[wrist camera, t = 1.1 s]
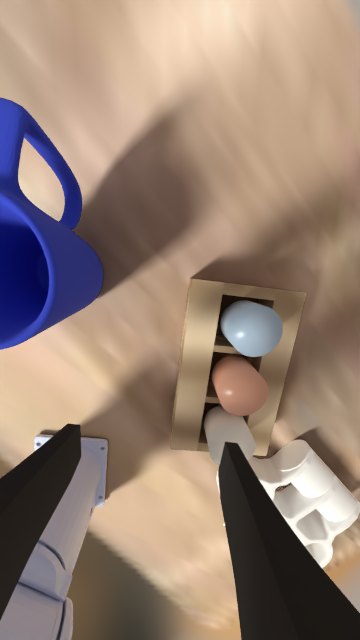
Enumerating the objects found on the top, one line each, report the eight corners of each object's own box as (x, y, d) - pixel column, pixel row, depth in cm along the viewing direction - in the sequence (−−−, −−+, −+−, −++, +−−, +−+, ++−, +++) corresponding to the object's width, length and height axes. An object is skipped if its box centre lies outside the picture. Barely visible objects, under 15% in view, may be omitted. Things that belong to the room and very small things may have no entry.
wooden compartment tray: (254, 433, 24) (266, 456, 21) (170, 427, 23) (170, 449, 20) (287, 290, 20) (306, 292, 17) (189, 278, 20) (192, 278, 17)
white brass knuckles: (358, 500, 27) (272, 556, 29) (282, 415, 24) (190, 483, 26) (384, 530, 24) (284, 592, 26) (299, 436, 21) (192, 513, 22)
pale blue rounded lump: (259, 345, 19) (276, 359, 16) (216, 341, 19) (225, 354, 15) (268, 302, 18) (288, 308, 15) (223, 297, 18) (234, 302, 15)
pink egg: (248, 395, 20) (262, 417, 17) (208, 391, 20) (215, 413, 16) (256, 357, 19) (273, 373, 16) (214, 353, 19) (223, 368, 16)
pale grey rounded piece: (239, 440, 21) (250, 469, 18) (201, 437, 21) (206, 466, 18) (246, 406, 20) (259, 430, 17) (206, 402, 20) (213, 426, 17)
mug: (135, 201, 18) (90, 116, 8) (103, 325, 21) (39, 370, 11) (42, 168, 17) (-125, 30, 8) (20, 300, 20) (-130, 325, 10)
